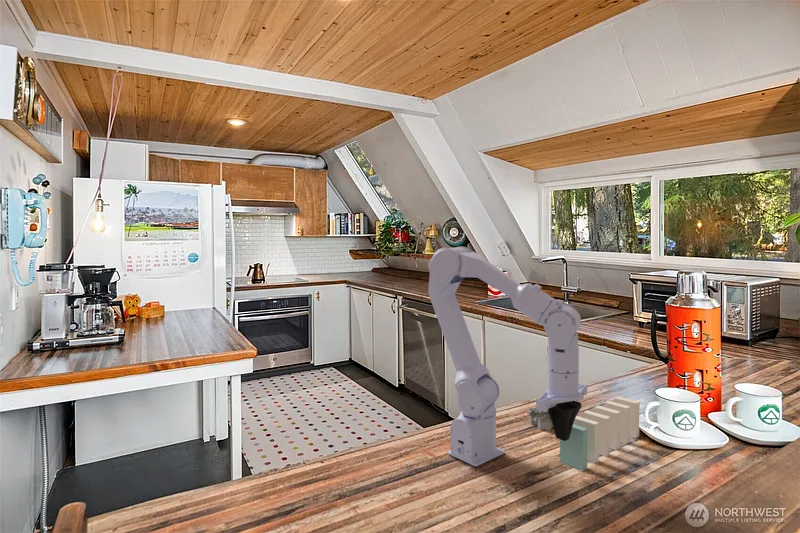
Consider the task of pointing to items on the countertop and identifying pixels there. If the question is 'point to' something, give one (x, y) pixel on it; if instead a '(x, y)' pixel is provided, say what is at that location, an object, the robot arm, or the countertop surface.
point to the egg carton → (540, 419)
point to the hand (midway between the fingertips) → (562, 438)
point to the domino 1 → (575, 448)
